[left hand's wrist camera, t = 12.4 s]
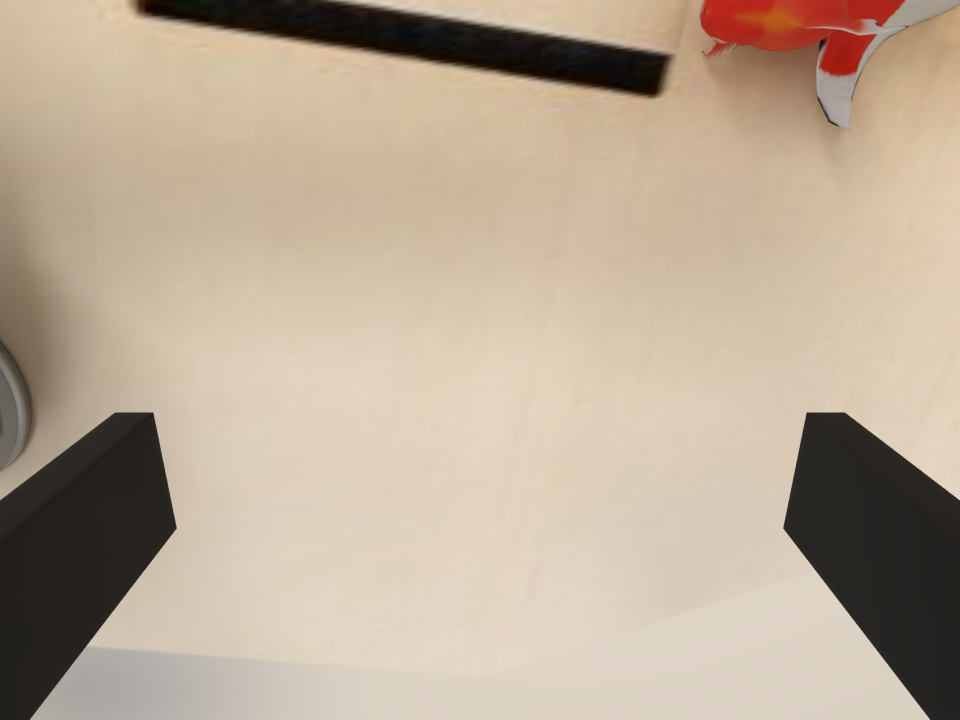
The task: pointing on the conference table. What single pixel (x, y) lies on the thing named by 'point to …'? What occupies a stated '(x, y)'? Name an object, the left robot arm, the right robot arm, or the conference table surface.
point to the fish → (817, 35)
